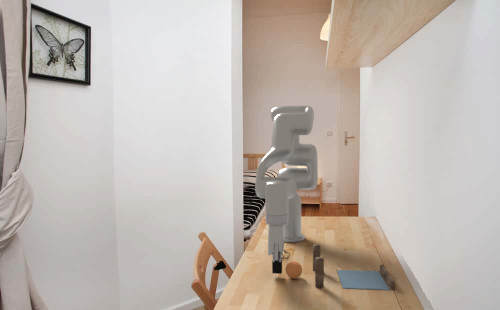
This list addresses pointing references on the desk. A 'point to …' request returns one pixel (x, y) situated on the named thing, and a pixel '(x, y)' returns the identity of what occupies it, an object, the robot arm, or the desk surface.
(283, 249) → the creature
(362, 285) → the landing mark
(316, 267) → the post near camera
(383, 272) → the wall
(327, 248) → the desk surface
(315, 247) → the post near arm
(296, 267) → the ball
